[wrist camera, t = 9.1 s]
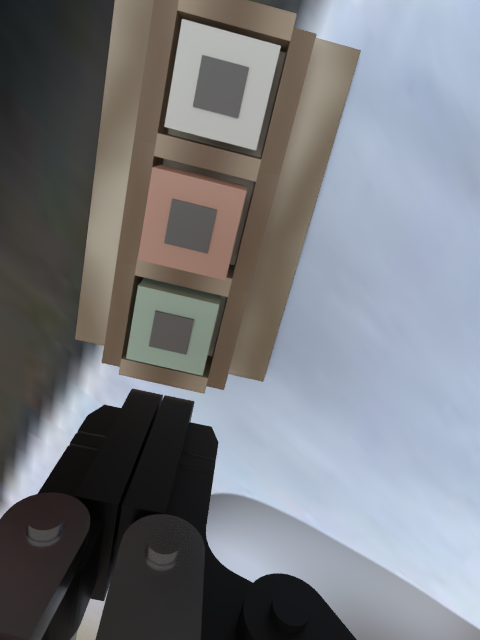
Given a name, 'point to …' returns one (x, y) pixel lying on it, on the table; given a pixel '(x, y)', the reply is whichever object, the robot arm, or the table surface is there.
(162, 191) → the terracotta key
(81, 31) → the table surface
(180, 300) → the sage key
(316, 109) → the keypad board
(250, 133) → the cream key
